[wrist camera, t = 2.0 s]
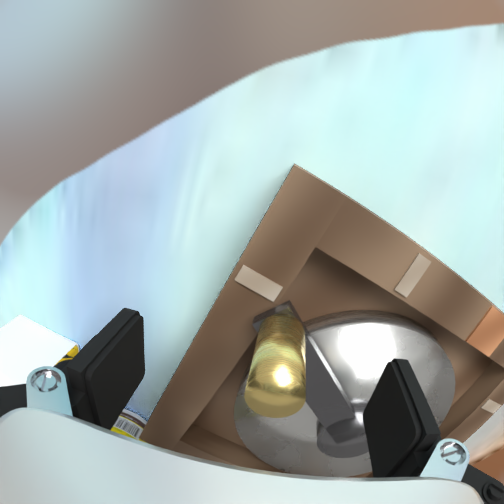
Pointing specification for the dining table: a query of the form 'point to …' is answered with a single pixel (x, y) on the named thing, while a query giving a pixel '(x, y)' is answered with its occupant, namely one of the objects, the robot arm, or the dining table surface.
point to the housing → (322, 303)
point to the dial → (329, 385)
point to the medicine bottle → (31, 350)
